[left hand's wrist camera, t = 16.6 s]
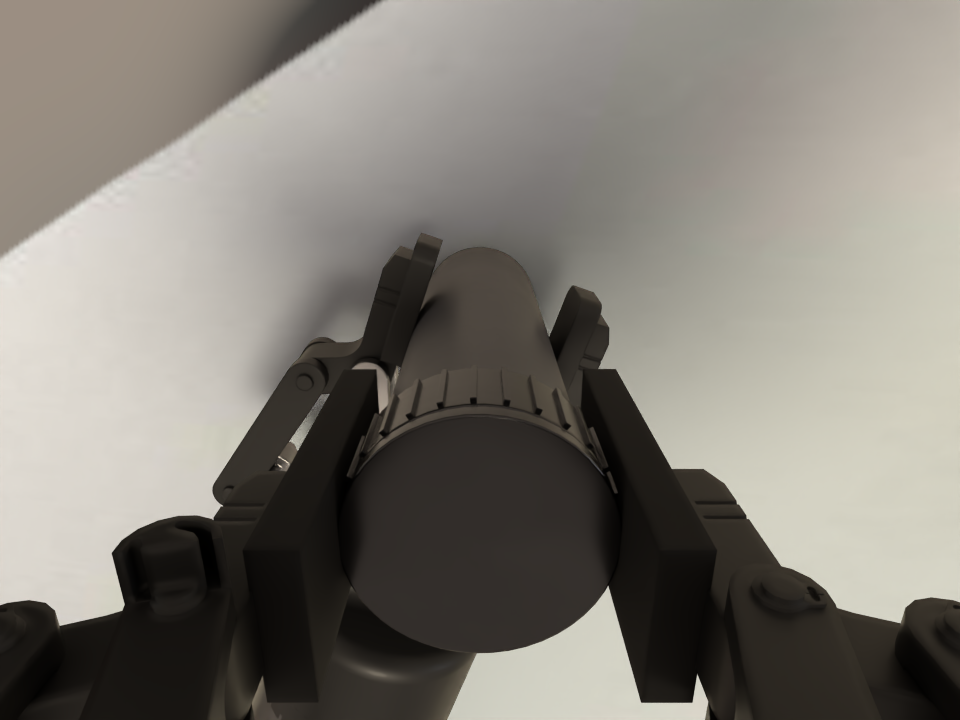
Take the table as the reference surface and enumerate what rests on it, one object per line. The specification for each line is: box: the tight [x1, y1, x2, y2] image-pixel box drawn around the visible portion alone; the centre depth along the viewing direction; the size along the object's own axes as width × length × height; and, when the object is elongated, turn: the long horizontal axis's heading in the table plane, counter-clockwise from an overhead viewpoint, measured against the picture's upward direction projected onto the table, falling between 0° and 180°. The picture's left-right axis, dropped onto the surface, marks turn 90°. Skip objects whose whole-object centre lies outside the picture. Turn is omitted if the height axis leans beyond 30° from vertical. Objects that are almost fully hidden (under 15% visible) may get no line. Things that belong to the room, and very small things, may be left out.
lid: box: [337, 365, 622, 653], centre depth 11 cm, size 5×5×2 cm
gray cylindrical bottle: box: [392, 247, 570, 403], centre depth 18 cm, size 4×4×15 cm
